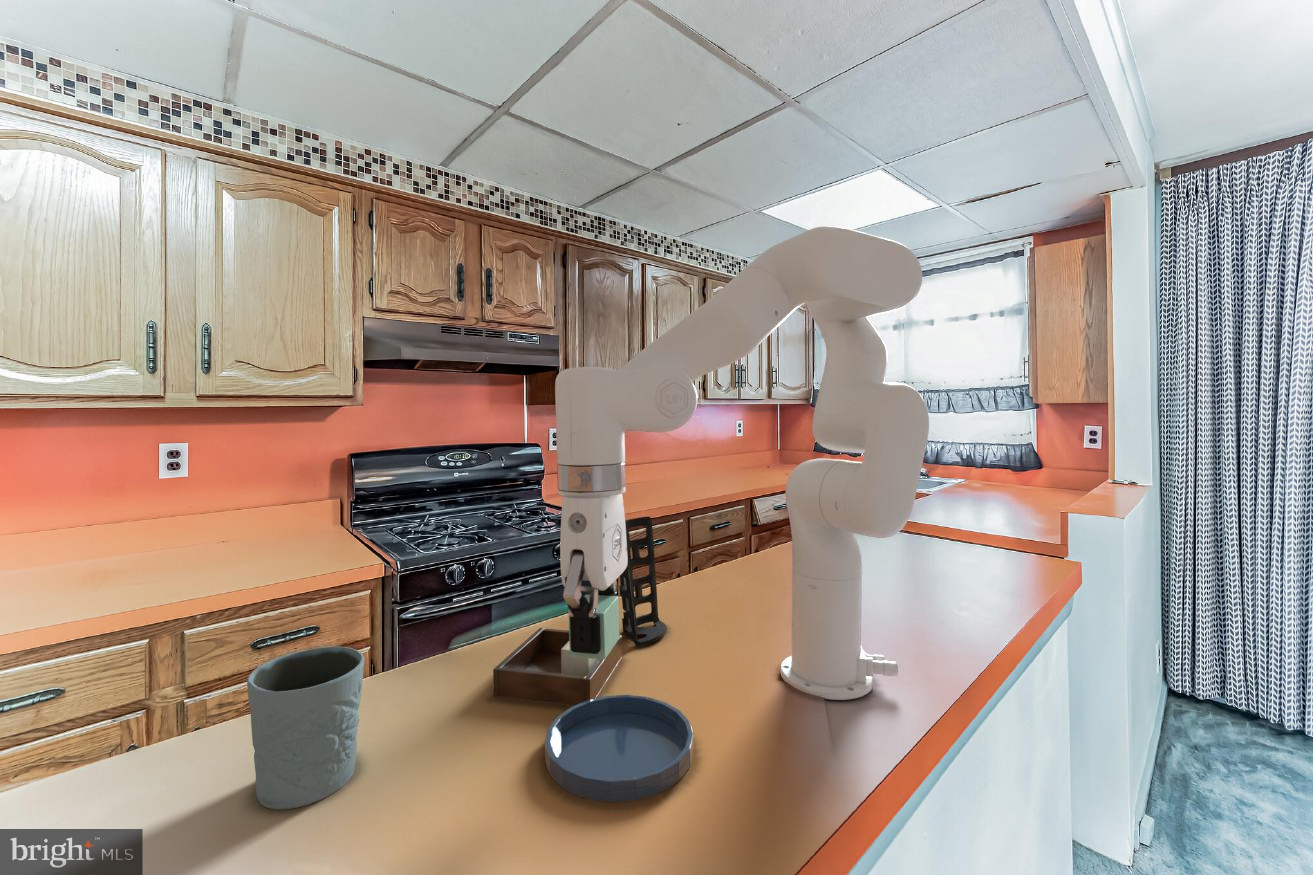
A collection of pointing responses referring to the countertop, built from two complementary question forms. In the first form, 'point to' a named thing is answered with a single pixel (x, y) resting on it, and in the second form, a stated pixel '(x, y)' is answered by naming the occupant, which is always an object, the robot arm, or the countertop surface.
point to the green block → (604, 626)
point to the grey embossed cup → (305, 724)
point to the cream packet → (575, 663)
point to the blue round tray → (619, 748)
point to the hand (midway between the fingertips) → (595, 637)
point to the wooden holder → (550, 671)
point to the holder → (640, 588)
